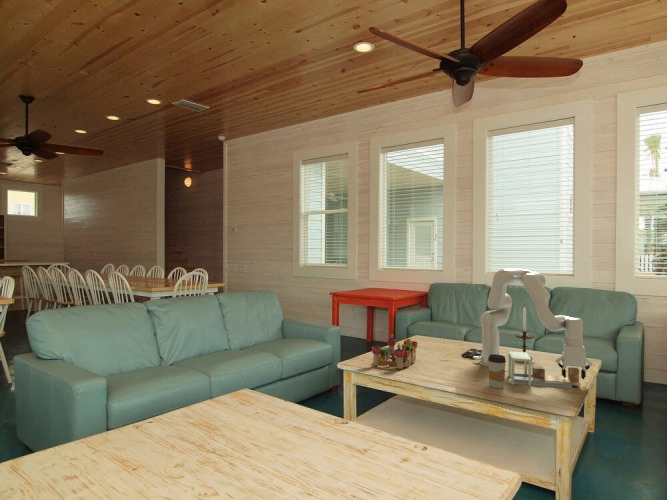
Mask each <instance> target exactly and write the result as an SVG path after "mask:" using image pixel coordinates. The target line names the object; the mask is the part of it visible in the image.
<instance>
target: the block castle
mask: <svg viewBox="0 0 667 500" xmlns="http://www.w3.org/2000/svg"><path fill="white" fill-rule="evenodd" d="M386 341H387V345H388V347H384V346H383V347H381V346H372V347H371V352H372V354H373V365H374V366H376V367H377V366H380V367H385V366H390V367H395V368H396V369H403V368H408V367H409V366H410V365H411V364H413V363H415V362H416V359H417V356H416V355H417V354H416V353H417V351H416V350H417V348H418V344H419V343H418V341H416V340H415V341H414V340H411V338H406V339H404V340H403V344H402V345H401V344H400V343H398V344H397V339H395V338H394V334H393V333H391V334H390V338H387V340H386ZM396 344H397V346H396ZM395 346H396V347H397V349H395ZM390 358H391V360H390Z"/></svg>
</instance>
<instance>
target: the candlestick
mask: <svg viewBox="0 0 667 500" xmlns="http://www.w3.org/2000/svg"><path fill="white" fill-rule="evenodd" d="M521 332H522V333H515V334H514V337H515V338H517V339H522V344H523V345H521V348H522V350H521V352H526V353H527V348H528V346H527V344H526V341H527V340H533V339H535V335H534V334H529V333H527V332H528V330H527V309H526V302H524V303H523V309H522V330H521ZM529 357H530V358H531V361H533V357H532V356H530V355H529Z"/></svg>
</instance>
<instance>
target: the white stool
mask: <svg viewBox="0 0 667 500" xmlns="http://www.w3.org/2000/svg"><path fill="white" fill-rule="evenodd" d="M529 356H530V355H529V354H528V352H527V351H526V352H523V351H508V364H507V366H508V372H507V373H508V375H507V376H508V377H509V378H511V385H515V384H514V373H515V362H524V363H523V364H524V365H523V374H528V385H527V386H530V387H531V386H532V385H531V374H532V360H531V358H530V357H531V356H530V357H529Z"/></svg>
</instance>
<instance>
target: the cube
mask: <svg viewBox="0 0 667 500" xmlns="http://www.w3.org/2000/svg"><path fill="white" fill-rule="evenodd" d="M531 374H532V376H533V377H534V378H538V379H545V375H546V368H545V367H544V366H543V365H541V366H539V365H531Z"/></svg>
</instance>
